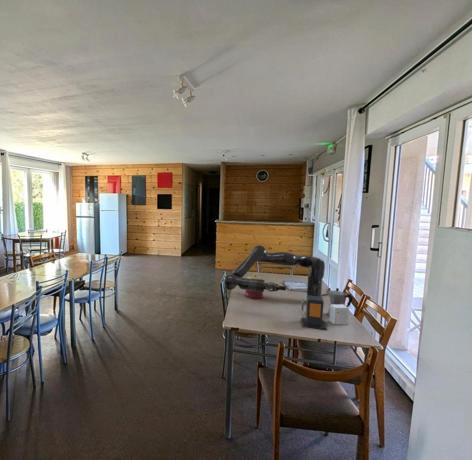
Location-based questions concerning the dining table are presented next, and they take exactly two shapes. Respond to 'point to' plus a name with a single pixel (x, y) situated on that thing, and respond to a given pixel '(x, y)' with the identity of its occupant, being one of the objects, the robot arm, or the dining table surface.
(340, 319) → the small box
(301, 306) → the push plate
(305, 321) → the dispenser
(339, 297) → the coffeepot
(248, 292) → the kitchen canister
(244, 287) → the robot arm
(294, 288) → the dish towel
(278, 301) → the dining table surface
